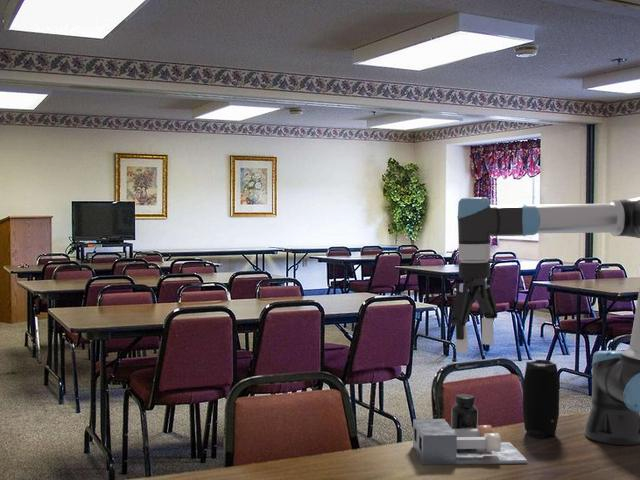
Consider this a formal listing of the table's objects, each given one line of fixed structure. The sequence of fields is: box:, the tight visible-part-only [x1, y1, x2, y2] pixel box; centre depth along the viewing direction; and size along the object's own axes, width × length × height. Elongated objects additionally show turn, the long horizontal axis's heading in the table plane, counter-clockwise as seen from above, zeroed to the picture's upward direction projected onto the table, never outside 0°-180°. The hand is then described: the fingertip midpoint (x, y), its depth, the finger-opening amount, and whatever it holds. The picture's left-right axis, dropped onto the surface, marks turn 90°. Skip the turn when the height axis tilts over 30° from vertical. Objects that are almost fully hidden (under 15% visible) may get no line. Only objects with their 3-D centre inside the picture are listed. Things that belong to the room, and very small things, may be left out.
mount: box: [412, 418, 528, 466], centre depth 188 cm, size 25×14×7 cm, turn 93°
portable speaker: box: [522, 359, 560, 439], centre depth 205 cm, size 9×9×20 cm
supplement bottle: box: [450, 393, 479, 429], centre depth 198 cm, size 7×7×12 cm
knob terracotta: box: [452, 424, 494, 437], centre depth 191 cm, size 13×4×4 cm, turn 93°
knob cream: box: [457, 432, 502, 452], centre depth 184 cm, size 13×4×4 cm, turn 93°
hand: (475, 348), depth 185 cm, fingers open, 13 cm apart
